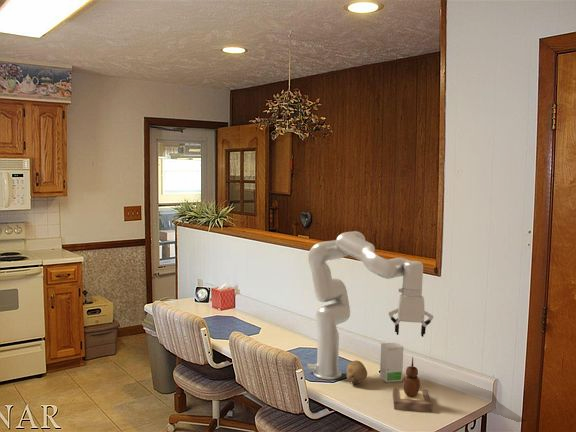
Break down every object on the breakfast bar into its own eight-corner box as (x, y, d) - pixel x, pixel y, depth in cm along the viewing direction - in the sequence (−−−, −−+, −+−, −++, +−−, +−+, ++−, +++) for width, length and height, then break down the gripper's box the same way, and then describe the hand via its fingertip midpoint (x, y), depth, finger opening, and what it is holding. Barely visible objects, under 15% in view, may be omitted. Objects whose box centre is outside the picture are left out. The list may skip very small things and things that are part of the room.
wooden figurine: (408, 390, 219) (409, 354, 218) (421, 394, 216) (422, 357, 215) (400, 395, 214) (401, 358, 213) (414, 399, 211) (415, 361, 209)
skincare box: (385, 382, 236) (386, 347, 234) (378, 377, 242) (380, 343, 241) (403, 381, 238) (404, 346, 237) (396, 375, 244) (397, 341, 243)
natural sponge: (368, 381, 237) (369, 359, 236) (364, 388, 228) (365, 365, 228) (348, 378, 240) (348, 356, 239) (343, 385, 232) (344, 362, 231)
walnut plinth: (394, 408, 209) (394, 400, 209) (392, 394, 223) (392, 386, 223) (431, 411, 207) (431, 403, 207) (427, 397, 221) (427, 389, 221)
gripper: (389, 293, 211) (387, 336, 213) (435, 296, 209) (433, 339, 210) (389, 288, 219) (387, 330, 220) (433, 291, 216) (431, 333, 218)
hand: (409, 334), depth 215 cm, fingers open, 9 cm apart
